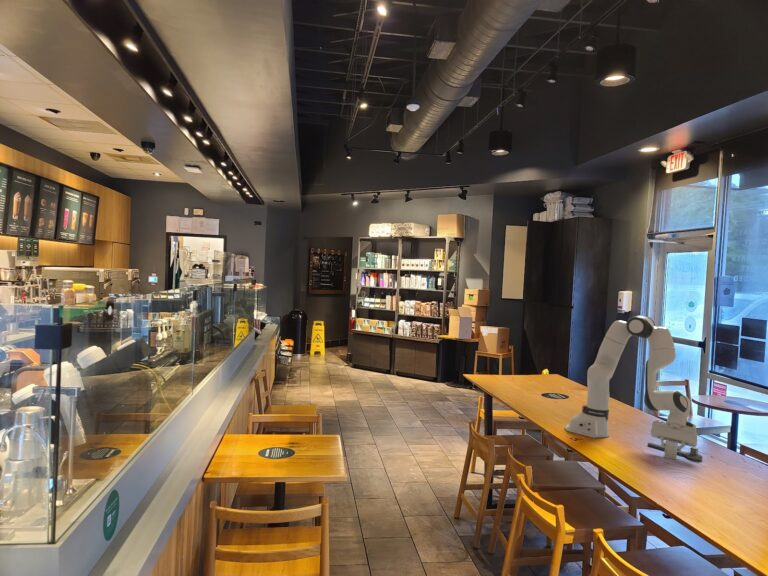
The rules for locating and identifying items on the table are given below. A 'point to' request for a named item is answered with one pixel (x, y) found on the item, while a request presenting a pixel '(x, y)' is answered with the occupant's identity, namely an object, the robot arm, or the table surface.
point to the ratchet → (689, 455)
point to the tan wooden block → (671, 449)
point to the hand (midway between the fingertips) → (670, 448)
